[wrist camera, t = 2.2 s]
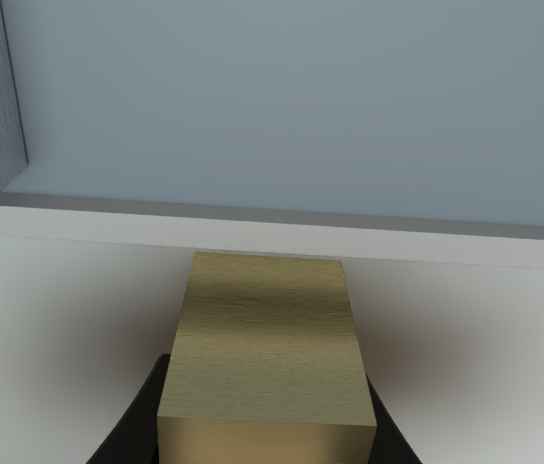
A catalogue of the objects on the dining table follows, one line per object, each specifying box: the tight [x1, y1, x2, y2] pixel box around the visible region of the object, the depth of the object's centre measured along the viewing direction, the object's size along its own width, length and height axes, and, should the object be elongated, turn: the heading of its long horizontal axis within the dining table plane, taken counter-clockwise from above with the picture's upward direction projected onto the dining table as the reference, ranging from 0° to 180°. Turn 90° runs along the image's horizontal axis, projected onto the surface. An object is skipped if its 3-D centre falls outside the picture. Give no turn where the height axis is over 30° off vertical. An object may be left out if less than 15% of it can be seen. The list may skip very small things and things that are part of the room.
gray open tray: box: [0, 0, 544, 269], centre depth 8 cm, size 10×22×4 cm, turn 86°
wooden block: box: [157, 252, 377, 464], centre depth 12 cm, size 6×4×5 cm, turn 176°
